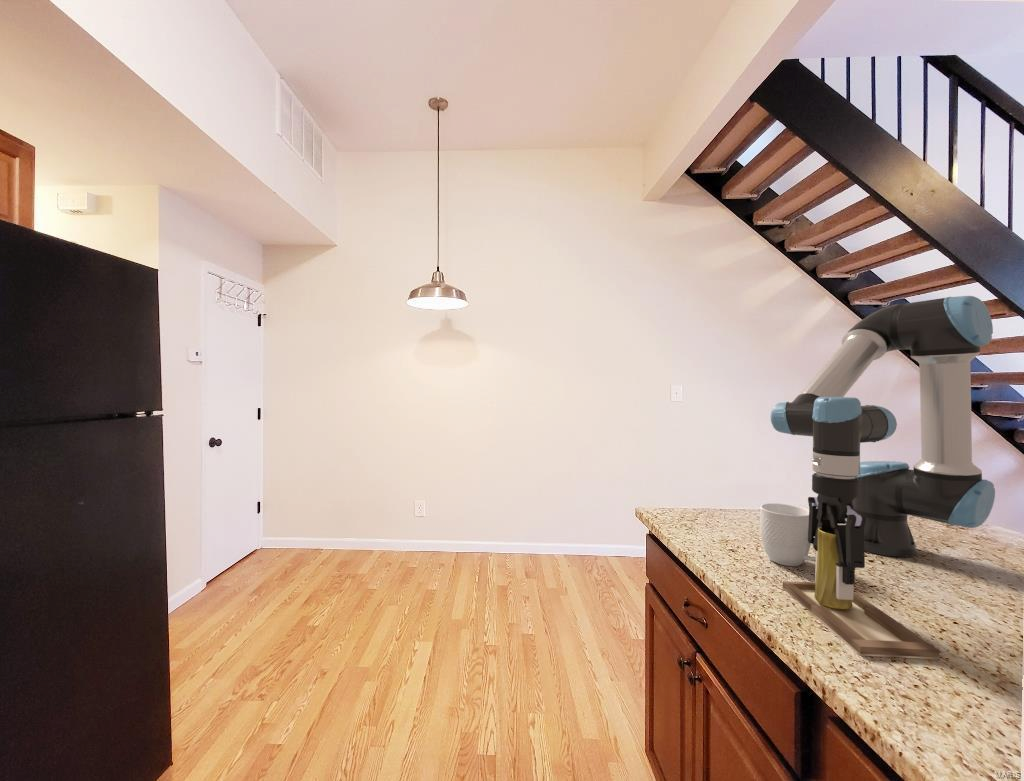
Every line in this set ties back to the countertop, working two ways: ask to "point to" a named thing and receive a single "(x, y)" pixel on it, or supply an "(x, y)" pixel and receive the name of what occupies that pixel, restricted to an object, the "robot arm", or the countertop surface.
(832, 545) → the vase
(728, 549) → the countertop surface
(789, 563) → the mug
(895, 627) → the shallow serving tray
